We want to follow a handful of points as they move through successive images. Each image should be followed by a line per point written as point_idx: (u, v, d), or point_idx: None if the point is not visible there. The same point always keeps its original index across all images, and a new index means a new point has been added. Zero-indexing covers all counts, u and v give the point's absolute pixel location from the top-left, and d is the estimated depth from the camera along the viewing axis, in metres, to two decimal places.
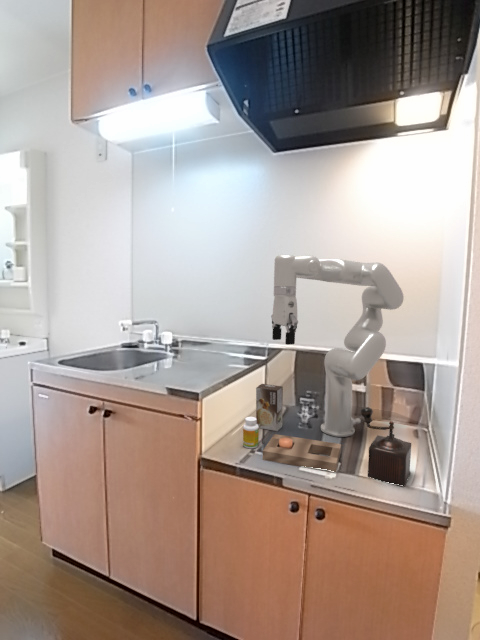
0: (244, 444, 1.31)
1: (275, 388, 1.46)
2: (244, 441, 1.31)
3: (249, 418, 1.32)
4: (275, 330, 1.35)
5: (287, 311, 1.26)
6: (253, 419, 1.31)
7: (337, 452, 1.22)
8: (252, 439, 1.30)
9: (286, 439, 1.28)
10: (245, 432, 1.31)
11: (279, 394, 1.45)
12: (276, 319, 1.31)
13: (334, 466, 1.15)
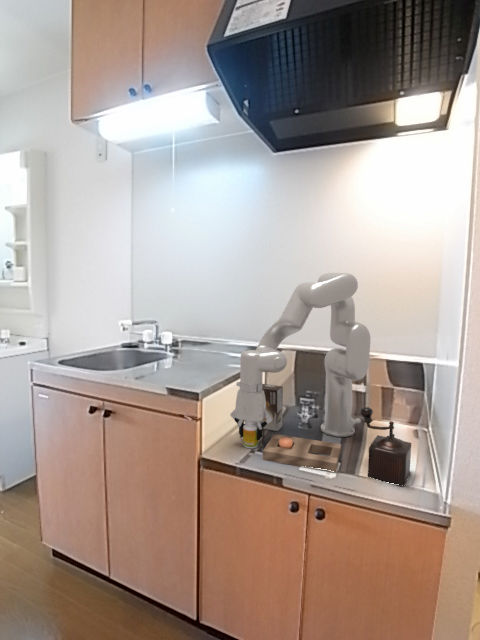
0: (244, 444, 1.31)
1: (275, 388, 1.46)
2: (244, 441, 1.31)
3: None
4: None
5: None
6: None
7: (337, 452, 1.22)
8: (252, 439, 1.30)
9: (286, 439, 1.28)
10: (245, 432, 1.31)
11: (279, 394, 1.45)
12: None
13: (334, 466, 1.15)
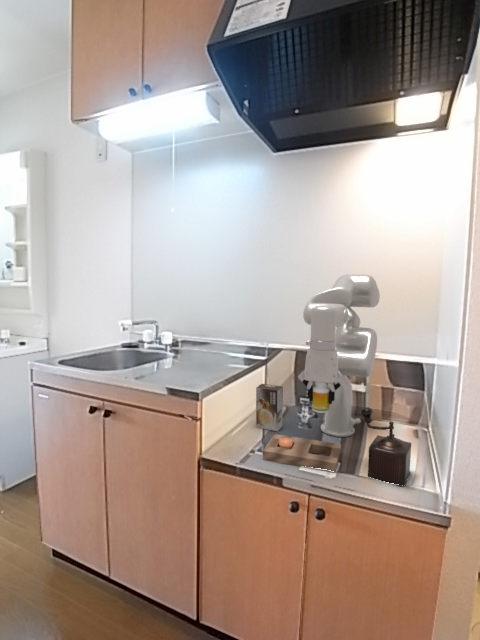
0: (314, 408, 1.20)
1: (275, 388, 1.46)
2: (314, 405, 1.20)
3: None
4: None
5: None
6: None
7: (337, 452, 1.22)
8: (324, 402, 1.19)
9: (286, 439, 1.28)
10: (316, 395, 1.19)
11: (279, 394, 1.45)
12: None
13: (334, 466, 1.15)
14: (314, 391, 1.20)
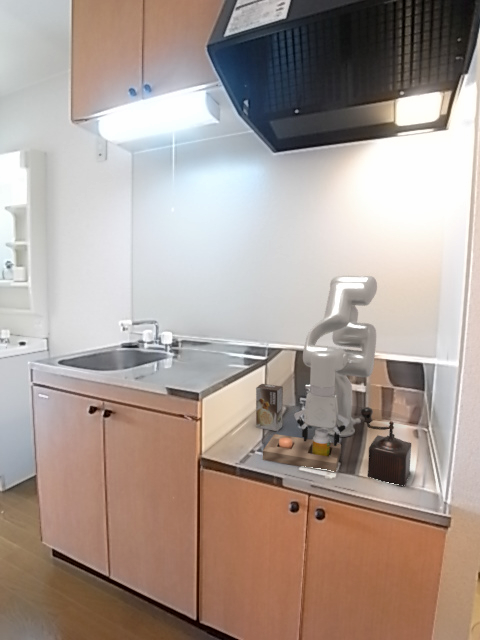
0: None
1: (275, 388, 1.46)
2: None
3: (319, 429, 1.23)
4: None
5: None
6: (324, 430, 1.22)
7: (337, 452, 1.22)
8: (324, 452, 1.20)
9: (286, 439, 1.28)
10: (316, 445, 1.21)
11: (279, 394, 1.45)
12: None
13: (334, 466, 1.15)
14: (314, 441, 1.22)
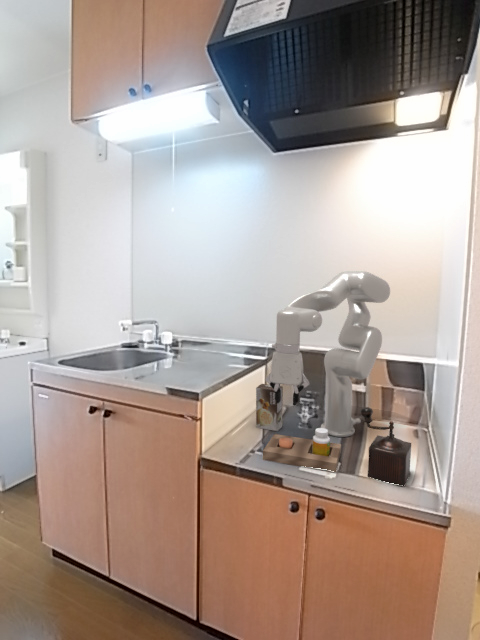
0: None
1: None
2: None
3: (320, 430, 1.22)
4: None
5: None
6: (324, 430, 1.22)
7: (337, 452, 1.22)
8: (324, 452, 1.20)
9: (286, 439, 1.28)
10: (316, 445, 1.21)
11: None
12: None
13: (334, 466, 1.15)
14: (314, 441, 1.21)
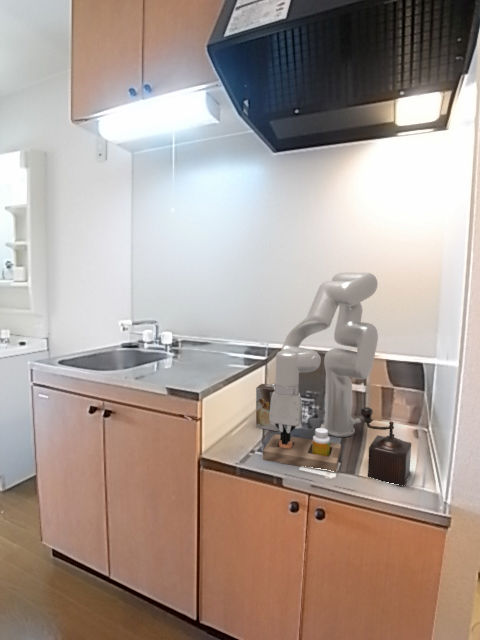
0: None
1: None
2: None
3: (319, 430, 1.22)
4: None
5: None
6: (324, 430, 1.22)
7: (337, 452, 1.22)
8: (324, 452, 1.20)
9: None
10: (316, 445, 1.21)
11: None
12: None
13: (334, 466, 1.15)
14: (314, 441, 1.21)
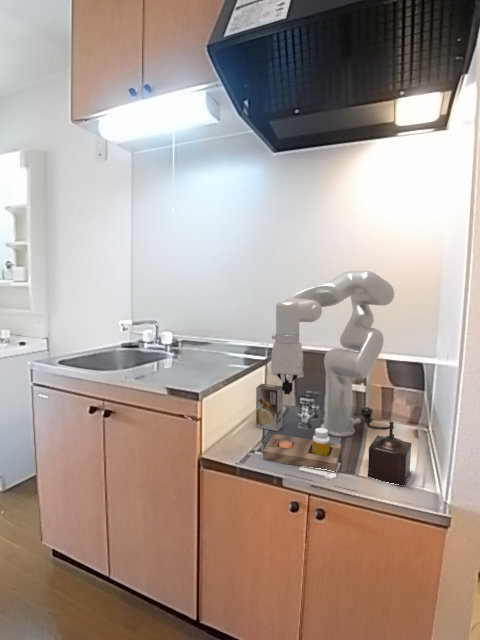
0: None
1: (275, 388, 1.46)
2: None
3: (319, 430, 1.23)
4: None
5: None
6: (324, 430, 1.22)
7: (337, 452, 1.22)
8: (324, 452, 1.21)
9: (286, 442, 1.28)
10: (316, 445, 1.21)
11: (279, 394, 1.45)
12: None
13: (334, 466, 1.15)
14: (314, 441, 1.21)
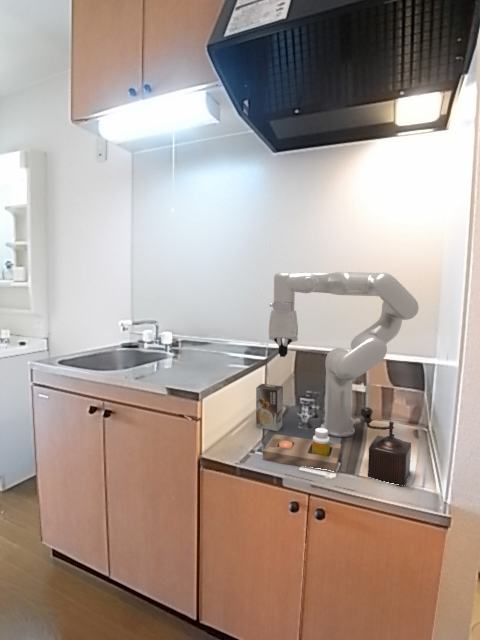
0: None
1: (275, 388, 1.46)
2: None
3: (319, 430, 1.22)
4: None
5: None
6: (324, 430, 1.22)
7: (337, 452, 1.22)
8: (324, 452, 1.20)
9: (286, 442, 1.28)
10: (316, 445, 1.21)
11: (279, 394, 1.45)
12: None
13: (334, 466, 1.15)
14: (314, 441, 1.21)
